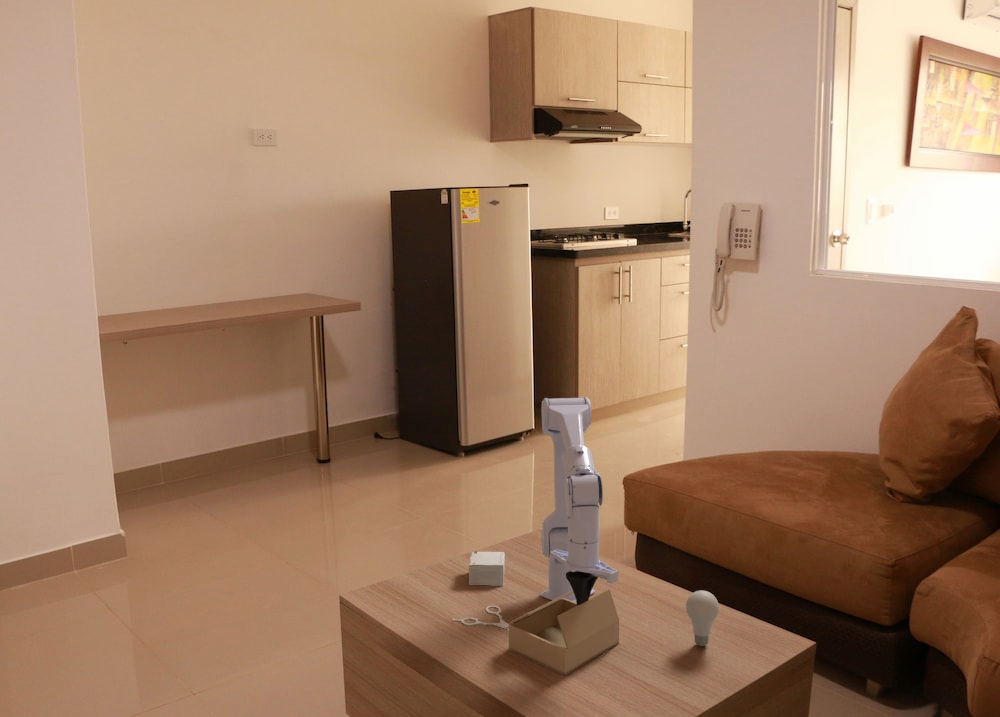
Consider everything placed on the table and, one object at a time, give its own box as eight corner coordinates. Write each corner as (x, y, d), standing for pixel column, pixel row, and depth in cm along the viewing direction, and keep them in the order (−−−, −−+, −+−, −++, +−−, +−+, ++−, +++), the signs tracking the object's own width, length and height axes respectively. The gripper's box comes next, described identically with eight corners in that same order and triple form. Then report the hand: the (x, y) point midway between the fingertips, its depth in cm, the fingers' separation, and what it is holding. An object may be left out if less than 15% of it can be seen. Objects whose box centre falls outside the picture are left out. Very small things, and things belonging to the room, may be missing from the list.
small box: (503, 586, 199) (503, 565, 198) (468, 586, 199) (468, 564, 198) (505, 572, 206) (505, 551, 205) (471, 572, 207) (471, 551, 206)
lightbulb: (678, 642, 173) (679, 588, 171) (704, 635, 175) (706, 582, 173) (697, 656, 167) (699, 601, 165) (724, 649, 170) (726, 595, 168)
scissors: (487, 602, 191) (559, 631, 177) (487, 605, 191) (559, 635, 177) (450, 619, 183) (523, 651, 169) (451, 623, 183) (523, 655, 169)
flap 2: (608, 589, 172) (609, 589, 172) (617, 620, 171) (619, 620, 171) (556, 616, 161) (558, 616, 161) (566, 649, 161) (568, 648, 161)
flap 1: (561, 598, 181) (560, 596, 181) (580, 589, 177) (579, 587, 177) (510, 624, 170) (509, 622, 171) (529, 615, 166) (528, 613, 167)
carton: (563, 620, 182) (563, 597, 181) (618, 643, 173) (619, 619, 172) (508, 649, 171) (508, 625, 170) (565, 676, 161) (565, 650, 160)
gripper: (539, 534, 167) (539, 602, 169) (601, 555, 157) (600, 627, 159) (563, 524, 172) (563, 590, 174) (625, 544, 162) (624, 614, 164)
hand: (582, 607), depth 167 cm, fingers closed, pressing on flap 2
